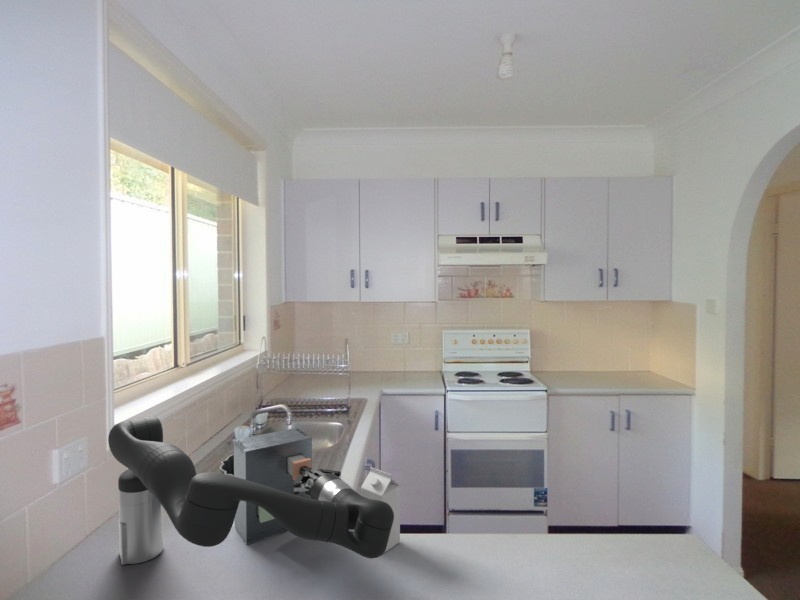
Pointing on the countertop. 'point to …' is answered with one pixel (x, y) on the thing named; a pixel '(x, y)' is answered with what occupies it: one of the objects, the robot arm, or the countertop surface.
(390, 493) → the milk carton
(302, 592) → the countertop surface
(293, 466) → the terracotta button
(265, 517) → the sage button
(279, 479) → the control panel
